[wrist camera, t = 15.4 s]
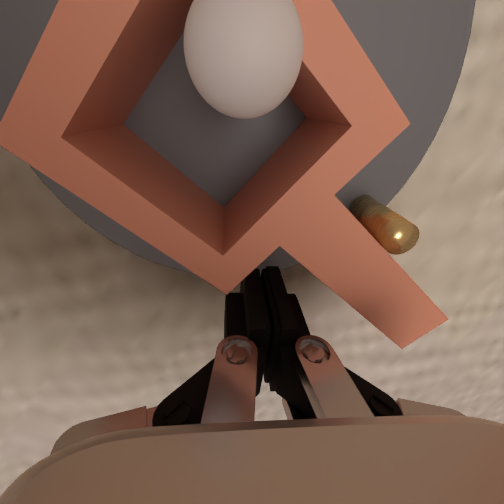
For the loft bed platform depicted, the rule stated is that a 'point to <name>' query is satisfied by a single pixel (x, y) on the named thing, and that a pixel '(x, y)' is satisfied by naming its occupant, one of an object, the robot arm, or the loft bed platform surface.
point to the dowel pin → (384, 225)
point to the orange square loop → (191, 195)
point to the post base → (262, 93)
